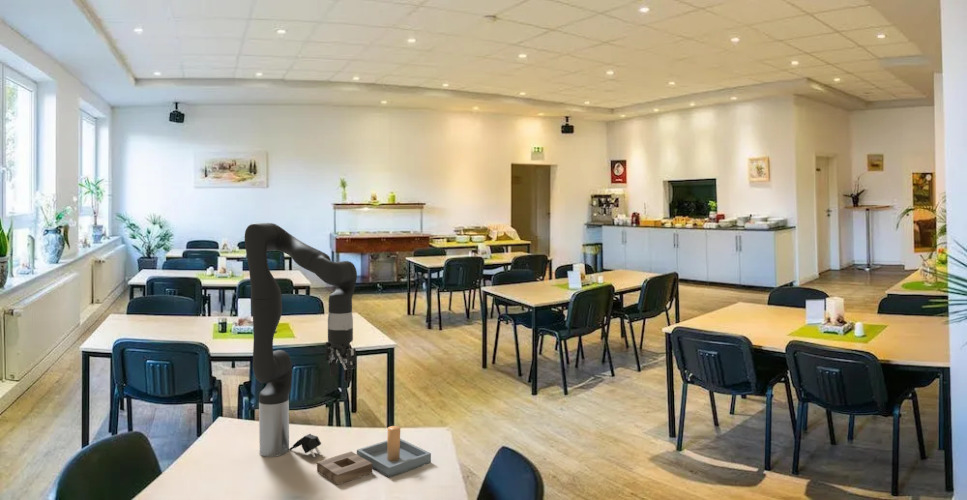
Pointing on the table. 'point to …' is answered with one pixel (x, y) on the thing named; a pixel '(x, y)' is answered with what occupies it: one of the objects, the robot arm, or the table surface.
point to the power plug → (308, 444)
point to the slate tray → (408, 460)
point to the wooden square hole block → (344, 467)
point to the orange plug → (393, 443)
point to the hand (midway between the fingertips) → (340, 378)
